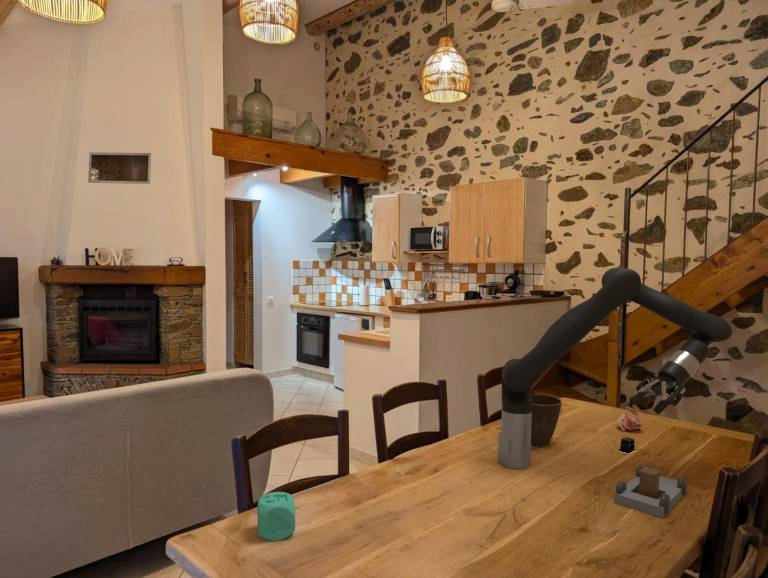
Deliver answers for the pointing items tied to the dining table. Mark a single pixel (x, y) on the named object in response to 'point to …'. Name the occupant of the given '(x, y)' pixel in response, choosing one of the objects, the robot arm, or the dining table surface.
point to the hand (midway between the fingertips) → (644, 407)
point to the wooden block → (649, 482)
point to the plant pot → (544, 418)
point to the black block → (627, 445)
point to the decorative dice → (276, 516)
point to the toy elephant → (629, 420)
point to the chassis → (667, 497)
